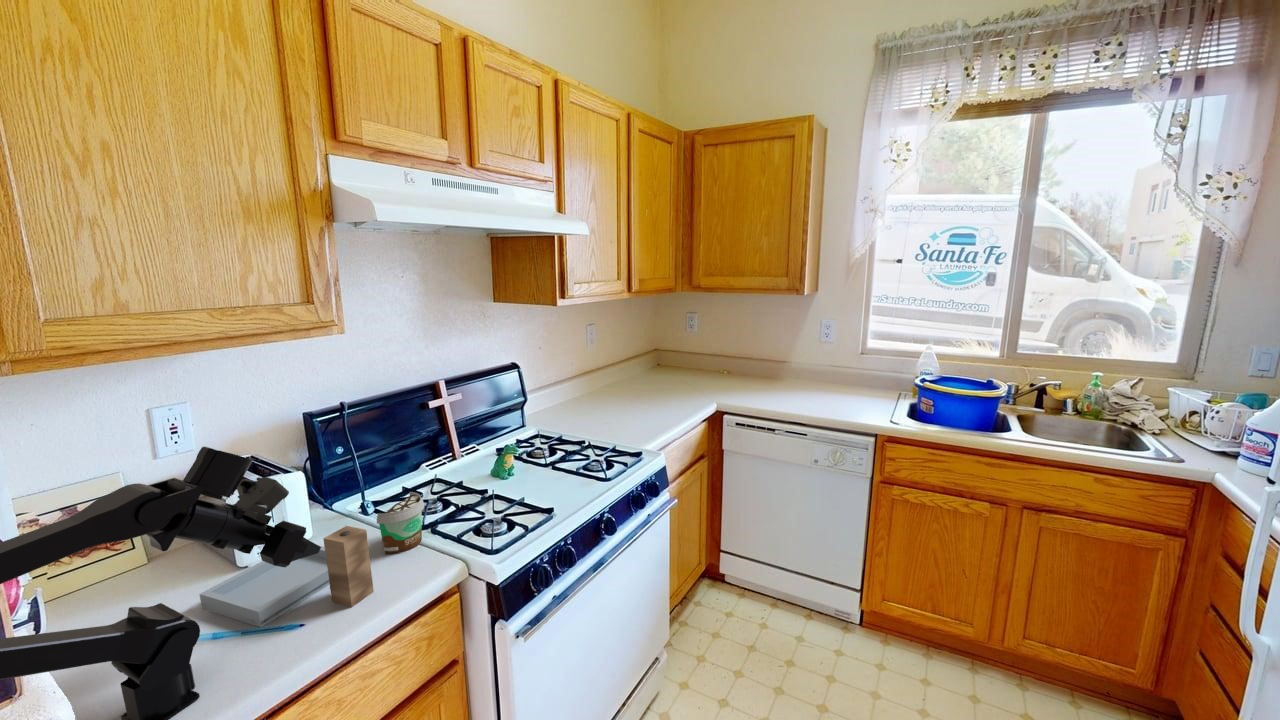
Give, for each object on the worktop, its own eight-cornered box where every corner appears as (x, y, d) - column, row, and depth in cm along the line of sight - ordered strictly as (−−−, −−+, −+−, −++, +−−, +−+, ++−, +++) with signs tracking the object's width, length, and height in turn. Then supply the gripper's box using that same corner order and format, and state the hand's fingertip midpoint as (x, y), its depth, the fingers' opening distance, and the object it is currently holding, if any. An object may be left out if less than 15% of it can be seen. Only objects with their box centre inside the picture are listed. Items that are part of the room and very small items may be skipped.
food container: (405, 560, 114) (401, 516, 112) (380, 557, 115) (375, 514, 114) (438, 532, 126) (434, 492, 124) (415, 530, 127) (411, 490, 125)
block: (351, 607, 99) (343, 541, 96) (332, 601, 100) (323, 537, 98) (373, 591, 103) (366, 528, 101) (354, 586, 105) (346, 525, 103)
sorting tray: (261, 627, 94) (258, 611, 93) (202, 608, 99) (199, 593, 99) (356, 566, 112) (355, 553, 111) (302, 553, 117) (300, 541, 117)
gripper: (277, 482, 80) (359, 508, 92) (211, 463, 88) (295, 489, 101) (235, 559, 75) (327, 575, 88) (170, 531, 84) (263, 549, 96)
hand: (303, 544), depth 93 cm, fingers open, 9 cm apart
